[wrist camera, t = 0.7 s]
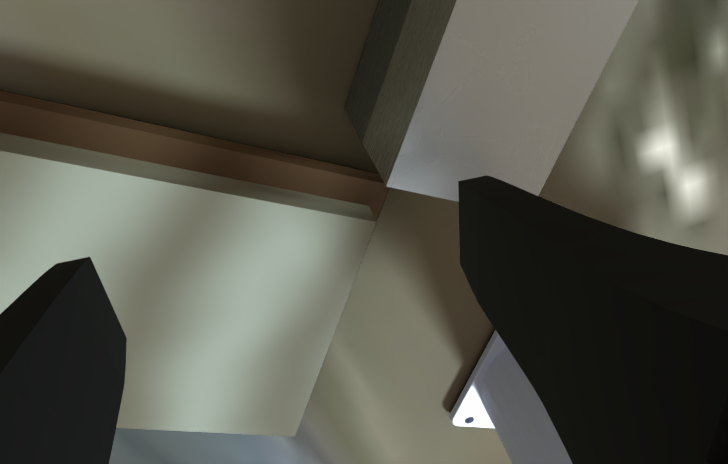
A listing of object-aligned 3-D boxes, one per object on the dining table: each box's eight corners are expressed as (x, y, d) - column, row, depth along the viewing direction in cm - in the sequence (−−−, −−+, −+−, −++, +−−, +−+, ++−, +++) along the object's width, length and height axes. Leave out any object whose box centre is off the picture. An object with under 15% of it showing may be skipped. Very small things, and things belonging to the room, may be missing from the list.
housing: (568, -128, 18) (705, -129, 13) (456, 138, 22) (527, 216, 17) (440, -188, 16) (539, -217, 11) (344, 110, 20) (386, 186, 15)
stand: (384, 175, 22) (399, 200, 20) (294, 417, 27) (299, 452, 26) (-50, 79, 17) (-79, 101, 15) (-51, 396, 23) (-71, 437, 21)
